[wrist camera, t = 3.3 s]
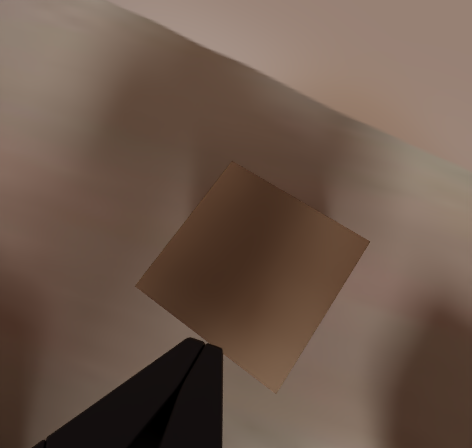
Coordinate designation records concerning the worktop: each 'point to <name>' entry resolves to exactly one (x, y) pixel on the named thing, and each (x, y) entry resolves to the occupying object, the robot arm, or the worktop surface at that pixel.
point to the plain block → (253, 272)
